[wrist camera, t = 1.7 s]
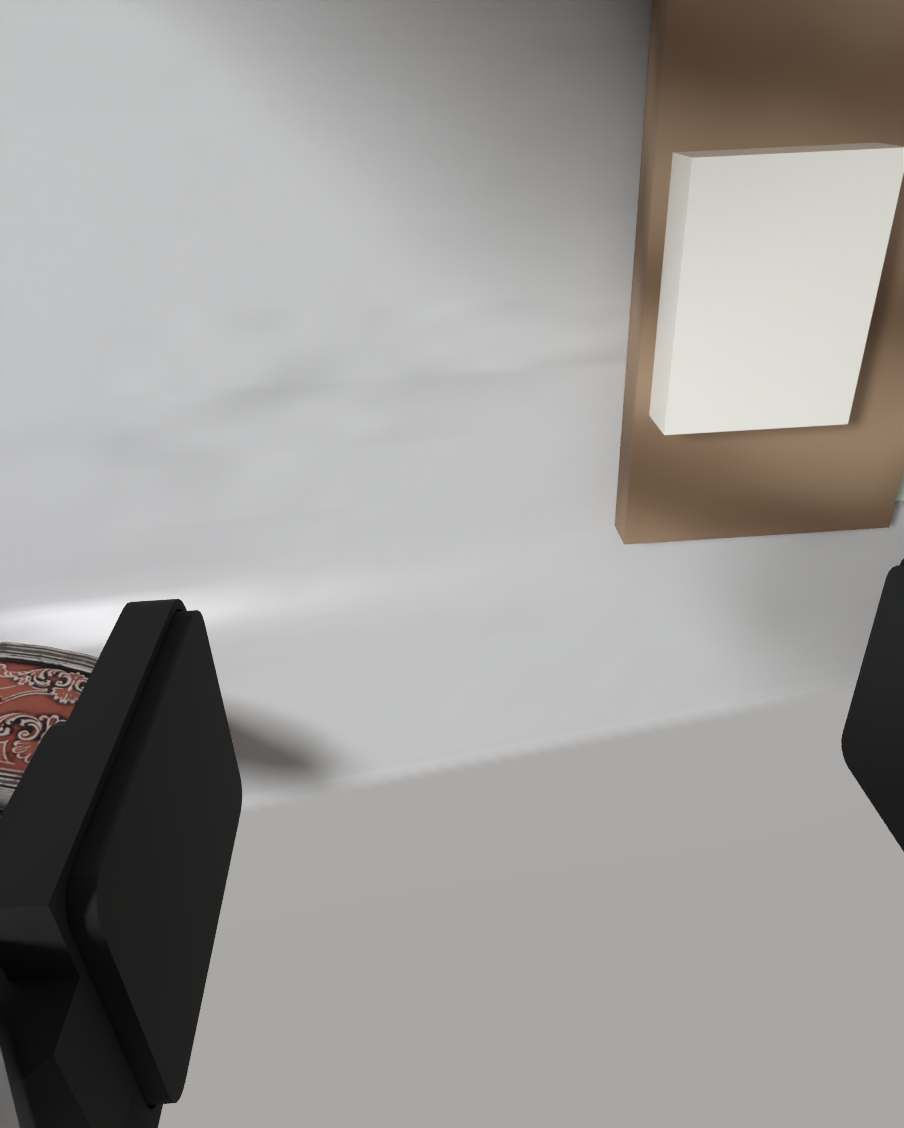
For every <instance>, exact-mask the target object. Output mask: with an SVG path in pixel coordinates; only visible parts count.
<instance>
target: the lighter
mask: <svg viewBox="0 0 904 1128" xmlns="http://www.w3.org/2000/svg"><path fill="white" fill-rule="evenodd" d="M97 660H98V658H96V657H93V656H90V655H86V654H81V653H76V652H71V651H66V650H61V649H56V648H51V647H46V646H38V645H29V644H20V643H11V642H0V817H1V815H2V813H3V811H4V809H5V808H6V806H7V804H8V802H9V800H10V798H11V796H12V794H13V792H14V790H15V789H16V787H17V785H18V783H19V781H20V779H21V777H22V775H23V773H24V771H25V770H26V768H27V766H28V764H29V762H30V760H31V758H32V756H33V754H34V753H35V751H36V749H37V747H38V745H39V743H40V741H41V739H42V737H43V736H44V734H45V733H46V732H47V730H48V729H49V728H50V726H52V725H54V724H55V723H57V722H61V721H67V720H68V718H69V716H70V714H71V712H72V710H73V708H74V706H75V704H76V702H77V700H78V698H79V696H80V694H81V692H82V690H83V688H84V686H85V684H86V682H87V680H88V678H89V676H90V674H91V672H92V670H93V668H94V666H95V664H96V662H97Z"/></svg>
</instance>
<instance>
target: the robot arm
mask: <svg viewBox="0 0 904 1128" xmlns="http://www.w3.org/2000/svg"><path fill="white" fill-rule="evenodd" d="M841 741H842V752H843V756H844V759H845V762H846V764H847V766H848V768H849V769H850V771H851V772H852V774H853V775H854V777H855V778H856V780H857V781H858V783H859V785H860V786H861V788H862V789H863V791H864V792H865V794H866V795H867V797H868V798H869V799H870V801H871V803H872V804H873V806H874V807H875V809H876V810H877V812H878V813H879V815H880V816H881V818H882V819H883V821H884V822H885V824H886V825H887V827H888V829H889V830H890V832H891V833H892V834H893V836H894V837H895V839H896V841H897V842H898V843H899V845H900V846H901V848H902V850H903V851H904V559H903V560H902V561H901V564H900V565H899V566H895V567H893V568H892V569H891V570H890V571H889V572H888V575H887V577H886V580H885V584H884V587H883V591H882V594H881V598H880V602H879V605H878V609H877V612H876V616H875V619H874V623H873V627H872V630H871V634H870V637H869V641H868V644H867V648H866V652H865V655H864V659H863V662H862V666H861V669H860V673H859V677H858V680H857V684H856V687H855V691H854V695H853V698H852V702H851V705H850V709H849V713H848V716H847V719H846V723H845V727H844V730H843V734H842V740H841ZM241 805H242V786H241V778H240V774H239V769H238V765H237V761H236V757H235V752H234V748H233V744H232V739H231V735H230V731H229V726H228V722H227V718H226V713H225V709H224V705H223V701H222V696H221V692H220V688H219V683H218V679H217V675H216V670H215V666H214V662H213V658H212V653H211V649H210V645H209V640H208V636H207V632H206V627H205V623H204V620H203V616H202V614H201V613H200V612H199V611H198V610H195V611H186V608H185V606H184V604H183V602H182V601H181V600H179V599H171V600H155V601H139V602H130V603H127V604H126V606H125V607H124V608H123V610H122V612H121V614H120V616H119V618H118V620H117V622H116V624H115V626H114V628H113V630H112V632H111V634H110V636H109V638H108V640H107V642H106V644H105V646H104V648H103V650H102V652H101V654H100V656H99V658H98V660H97V662H96V664H95V666H94V668H93V670H92V672H91V674H90V676H89V678H88V680H87V682H86V684H85V686H84V688H83V690H82V692H81V694H80V696H79V698H78V700H77V702H76V704H75V706H74V708H73V710H72V712H71V714H70V716H69V718H68V720H67V721H61V722H57V723H55V724H54V725H52V726H50V728H49V729H48V730H47V732H46V733H45V734H44V736H43V737H42V739H41V741H40V743H39V745H38V747H37V749H36V751H35V753H34V754H33V756H32V758H31V760H30V762H29V764H28V766H27V768H26V770H25V771H24V773H23V775H22V777H21V779H20V781H19V783H18V785H17V787H16V789H15V790H14V792H13V794H12V796H11V798H10V800H9V802H8V804H7V806H6V808H5V809H4V811H3V813H2V815H1V817H0V1128H158V1124H159V1119H160V1115H161V1110H162V1106H163V1104H167V1103H176V1102H177V1101H178V1100H179V1099H180V1097H181V1094H182V1092H183V1088H184V1084H185V1080H186V1076H187V1070H188V1066H189V1061H190V1056H191V1051H192V1046H193V1041H194V1036H195V1032H196V1026H197V1022H198V1016H199V1012H200V1007H201V1002H202V997H203V993H204V988H205V983H206V978H207V973H208V968H209V963H210V958H211V954H212V948H213V944H214V939H215V934H216V929H217V924H218V919H219V914H220V910H221V904H222V900H223V895H224V890H225V885H226V880H227V876H228V870H229V866H230V861H231V855H232V851H233V846H234V841H235V837H236V832H237V827H238V822H239V817H240V812H241Z"/></svg>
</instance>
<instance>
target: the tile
mask: <svg viewBox="0 0 904 1128" xmlns="http://www.w3.org/2000/svg"><path fill="white" fill-rule="evenodd" d="M903 174H904V146H897V145H890V144H883V143H857V144H837V145H816V146H795V147H774V148H754V149H733V150H712V151H692V152H673V155H672V166H671V177H670V188H669V200H668V211H667V222H666V233H665V244H664V255H663V266H662V278H661V289H660V300H659V311H658V322H657V333H656V344H655V356H654V367H653V378H652V389H651V400H650V411H649V416H650V417H651V418H652V420H653V421H654V422H655V424H656V425H657V426H658V428H659V429H660V430H661V432H662V433H663V434H664V435H676V434H693V433H710V432H726V431H743V430H760V429H776V428H793V427H810V426H826V425H843V424H848V421H849V417H850V412H851V408H852V403H853V399H854V394H855V390H856V385H857V381H858V376H859V372H860V367H861V363H862V358H863V354H864V349H865V345H866V340H867V336H868V331H869V327H870V322H871V318H872V313H873V309H874V304H875V300H876V295H877V291H878V286H879V282H880V277H881V273H882V268H883V264H884V259H885V255H886V250H887V246H888V241H889V237H890V232H891V228H892V223H893V219H894V214H895V210H896V205H897V201H898V196H899V192H900V187H901V183H902V178H903Z"/></svg>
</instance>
